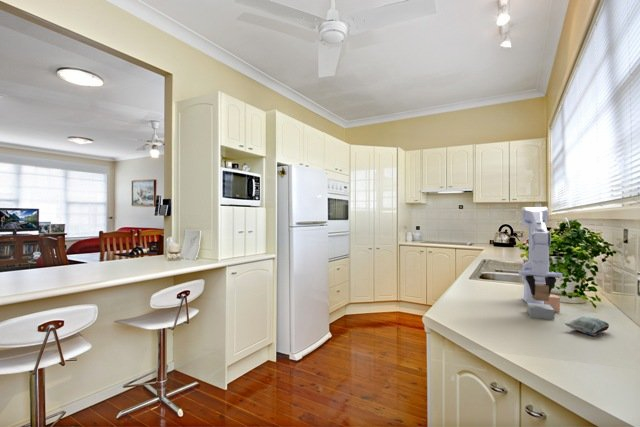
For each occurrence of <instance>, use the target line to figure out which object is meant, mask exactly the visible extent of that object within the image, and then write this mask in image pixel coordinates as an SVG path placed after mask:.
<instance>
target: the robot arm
mask: <svg viewBox="0 0 640 427" xmlns="http://www.w3.org/2000/svg"><path fill="white" fill-rule="evenodd" d="M548 218H549V209H548V207H547V206H540V207H539V206H538V207H537V206H536V207H535V206H532V207H531V206H527V207H525V206H523V207H522V208H521V220H522V224H523V225H522V226H525V227H526V228H527V231H528V261H526V262H524V263H523V264H522V266H521V267H522V268H521V270H519V271H518V276H519V277H521V280H522V281H523V282H524V285H523V297H521V299H522V300H523V301H524V302H525V303H526V304H527V303H536V304H544V301H539V300H535V299H533V298H532V295H535V283H541V284H546V285H548V286H549V296H550V295H551V292H552V288H553V287H554V286H555V284H556V283H557V279H563V273H562V272H553V271H550V246H551V243H552V242H551V241H552V235H551V232H550V231H549V230H548V229H547V220H548Z"/></svg>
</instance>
